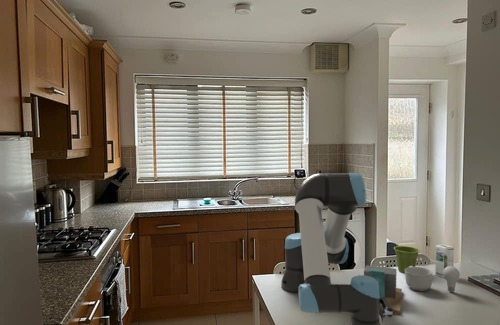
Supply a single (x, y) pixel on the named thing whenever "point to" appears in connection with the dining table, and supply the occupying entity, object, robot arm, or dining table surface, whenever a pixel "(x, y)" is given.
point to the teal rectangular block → (379, 279)
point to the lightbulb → (451, 277)
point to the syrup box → (443, 258)
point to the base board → (395, 302)
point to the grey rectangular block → (386, 279)
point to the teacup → (418, 278)
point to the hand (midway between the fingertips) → (376, 291)
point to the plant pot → (406, 257)
